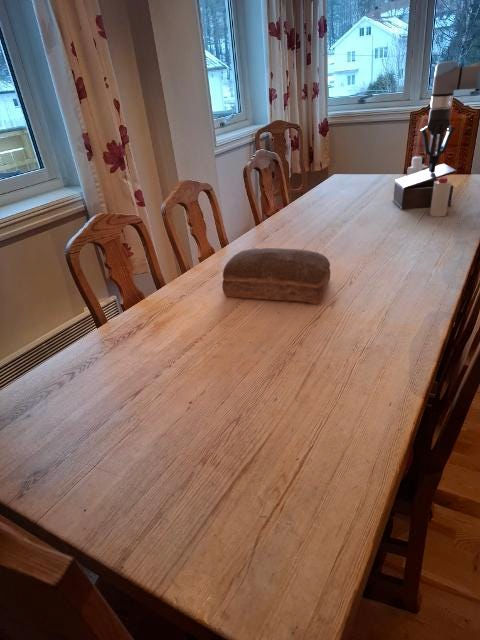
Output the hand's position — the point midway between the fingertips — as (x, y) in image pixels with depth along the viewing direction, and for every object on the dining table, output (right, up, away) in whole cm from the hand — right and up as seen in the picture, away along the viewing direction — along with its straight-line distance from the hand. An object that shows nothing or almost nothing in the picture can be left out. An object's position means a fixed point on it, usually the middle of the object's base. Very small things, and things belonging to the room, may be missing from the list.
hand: (431, 171), depth 177 cm
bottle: (-1, -19, -7) cm, 20 cm away
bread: (-68, -52, -51) cm, 100 cm away
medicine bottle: (+9, +8, +38) cm, 40 cm away
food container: (+6, -2, +21) cm, 22 cm away
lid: (-2, -2, +1) cm, 3 cm away
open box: (-2, -11, +7) cm, 13 cm away
